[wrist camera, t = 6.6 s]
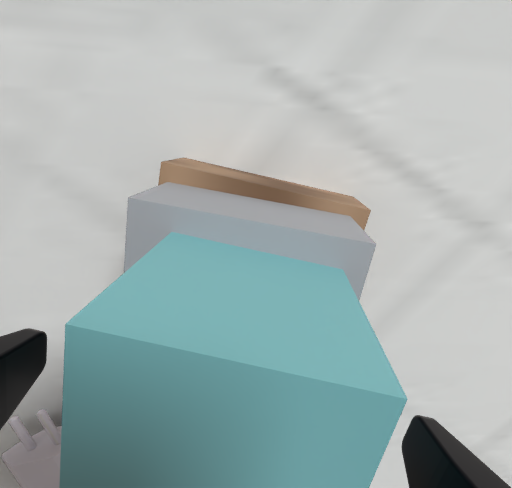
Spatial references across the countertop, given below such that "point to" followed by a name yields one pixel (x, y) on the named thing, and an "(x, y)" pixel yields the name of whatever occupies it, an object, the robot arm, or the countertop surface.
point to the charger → (35, 454)
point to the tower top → (247, 228)
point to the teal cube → (225, 376)
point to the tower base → (260, 188)
